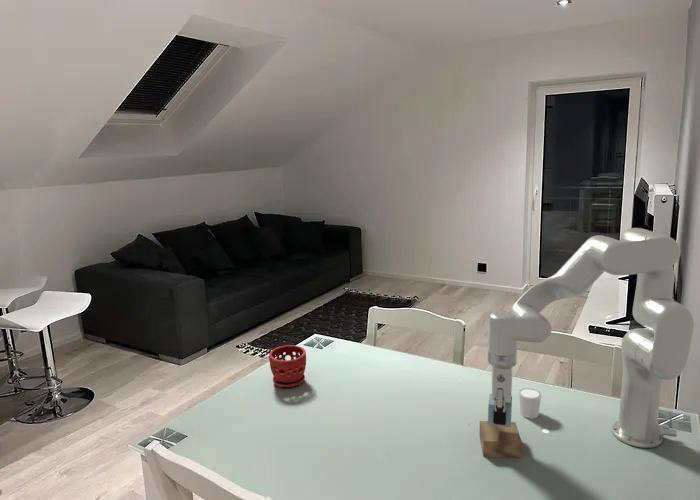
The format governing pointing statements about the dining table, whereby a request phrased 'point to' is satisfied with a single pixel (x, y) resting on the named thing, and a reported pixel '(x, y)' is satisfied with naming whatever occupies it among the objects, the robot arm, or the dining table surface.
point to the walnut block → (500, 440)
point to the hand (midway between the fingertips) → (499, 416)
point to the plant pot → (288, 366)
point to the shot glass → (529, 402)
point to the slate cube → (491, 412)
